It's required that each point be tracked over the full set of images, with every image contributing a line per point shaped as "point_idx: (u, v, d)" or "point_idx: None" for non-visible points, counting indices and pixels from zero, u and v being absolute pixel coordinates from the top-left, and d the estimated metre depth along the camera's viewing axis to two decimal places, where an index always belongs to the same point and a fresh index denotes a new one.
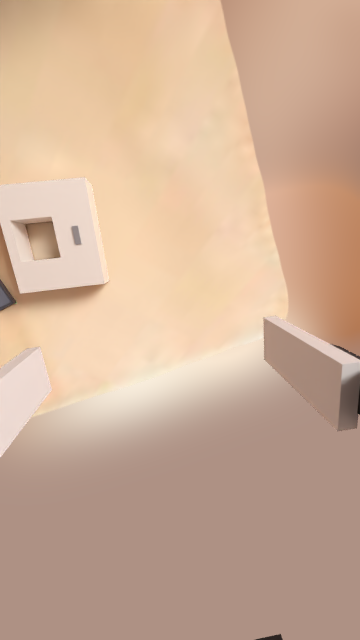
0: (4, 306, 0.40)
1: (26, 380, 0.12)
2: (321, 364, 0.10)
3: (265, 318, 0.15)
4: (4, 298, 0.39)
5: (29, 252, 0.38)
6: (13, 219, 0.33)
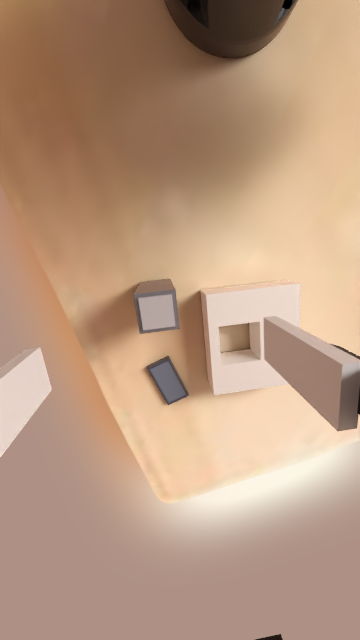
0: (178, 398, 0.38)
1: (26, 380, 0.12)
2: (321, 364, 0.10)
3: (265, 318, 0.15)
4: (180, 391, 0.38)
5: None
6: (222, 325, 0.32)
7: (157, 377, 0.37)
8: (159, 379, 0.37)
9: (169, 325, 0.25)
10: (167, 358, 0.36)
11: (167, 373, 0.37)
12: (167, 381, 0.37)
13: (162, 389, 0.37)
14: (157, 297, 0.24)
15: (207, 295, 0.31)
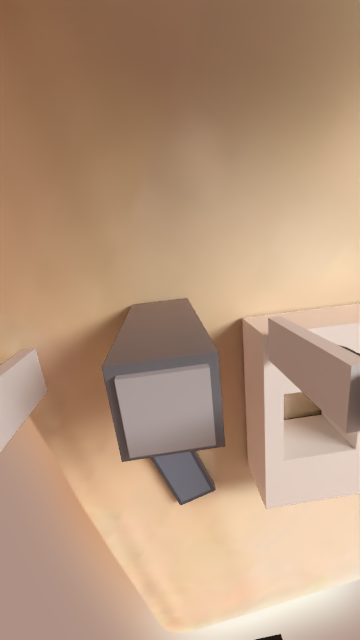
0: (198, 495, 0.23)
1: (21, 382, 0.12)
2: (329, 365, 0.10)
3: (270, 318, 0.14)
4: (202, 484, 0.22)
5: None
6: (290, 391, 0.16)
7: (163, 464, 0.21)
8: (167, 467, 0.22)
9: (200, 443, 0.09)
10: None
11: (181, 457, 0.21)
12: (180, 470, 0.22)
13: (172, 482, 0.22)
14: (169, 376, 0.08)
15: (266, 336, 0.15)
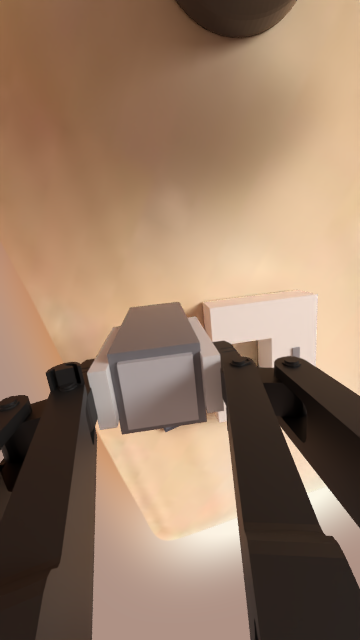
0: None
1: None
2: None
3: None
4: None
5: None
6: None
7: None
8: None
9: (185, 418, 0.11)
10: None
11: None
12: None
13: None
14: (160, 361, 0.11)
15: (211, 309, 0.27)
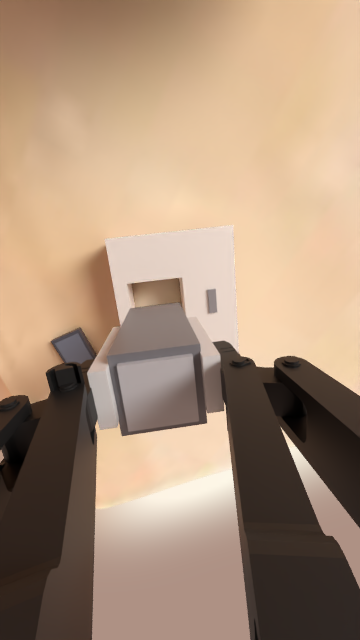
0: None
1: None
2: None
3: None
4: None
5: None
6: (131, 282, 0.24)
7: (65, 354, 0.29)
8: (68, 356, 0.29)
9: (186, 420, 0.11)
10: (77, 330, 0.29)
11: (78, 348, 0.29)
12: (78, 359, 0.29)
13: None
14: (160, 363, 0.11)
15: (106, 239, 0.23)
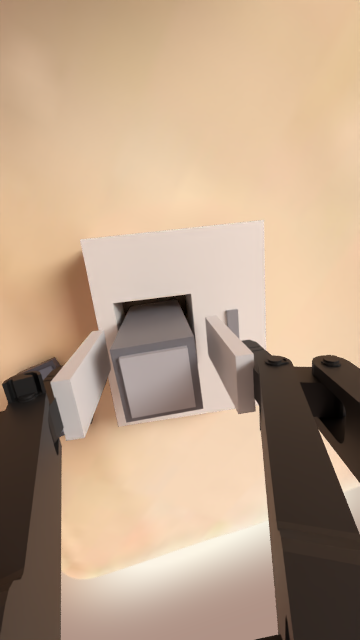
0: None
1: (99, 356, 0.14)
2: (228, 357, 0.11)
3: (206, 317, 0.16)
4: None
5: None
6: (119, 300, 0.17)
7: None
8: None
9: (183, 406, 0.12)
10: (50, 361, 0.22)
11: None
12: None
13: None
14: (158, 355, 0.12)
15: (83, 241, 0.16)
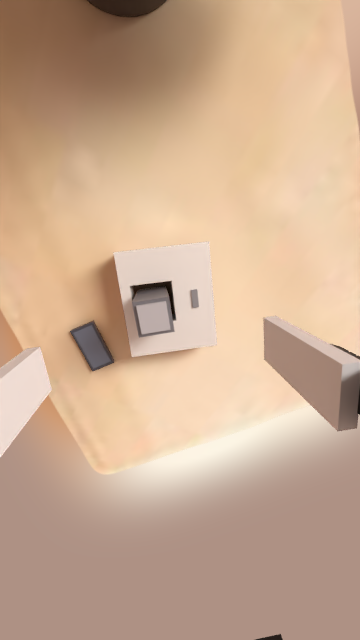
0: (103, 365, 0.38)
1: (26, 380, 0.12)
2: (321, 364, 0.10)
3: (265, 318, 0.15)
4: (105, 357, 0.38)
5: None
6: (133, 284, 0.32)
7: (81, 341, 0.37)
8: (83, 343, 0.37)
9: (165, 329, 0.27)
10: (91, 322, 0.36)
11: (91, 337, 0.37)
12: (91, 346, 0.37)
13: (86, 354, 0.37)
14: (153, 304, 0.27)
15: (115, 253, 0.31)
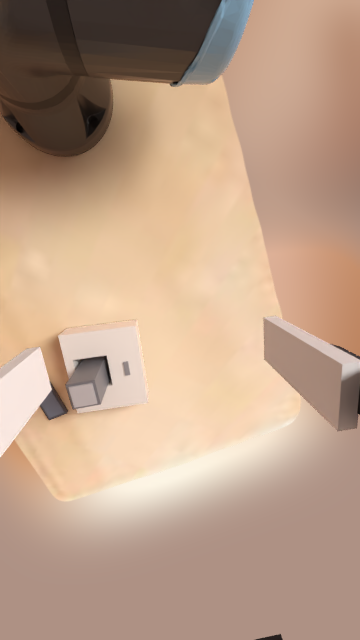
0: (58, 415, 0.46)
1: (26, 380, 0.12)
2: (321, 364, 0.10)
3: (265, 318, 0.15)
4: (59, 409, 0.46)
5: None
6: (75, 359, 0.40)
7: None
8: None
9: (92, 403, 0.36)
10: None
11: None
12: (47, 401, 0.45)
13: (43, 407, 0.46)
14: (81, 386, 0.35)
15: (59, 336, 0.39)
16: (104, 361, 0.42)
